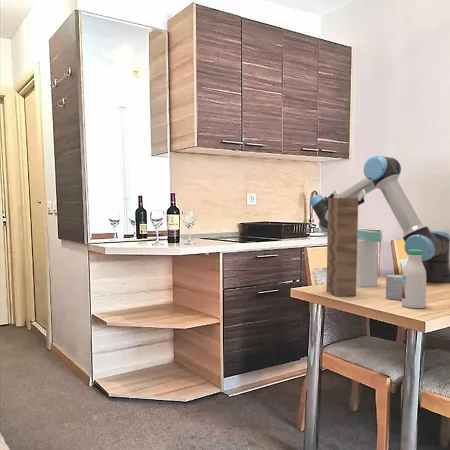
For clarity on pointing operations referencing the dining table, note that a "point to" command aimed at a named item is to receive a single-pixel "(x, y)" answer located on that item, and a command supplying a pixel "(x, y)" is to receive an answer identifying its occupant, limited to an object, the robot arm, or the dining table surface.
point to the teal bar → (369, 235)
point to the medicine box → (394, 287)
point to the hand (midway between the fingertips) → (350, 191)
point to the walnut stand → (342, 246)
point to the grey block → (367, 263)
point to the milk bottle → (414, 281)
